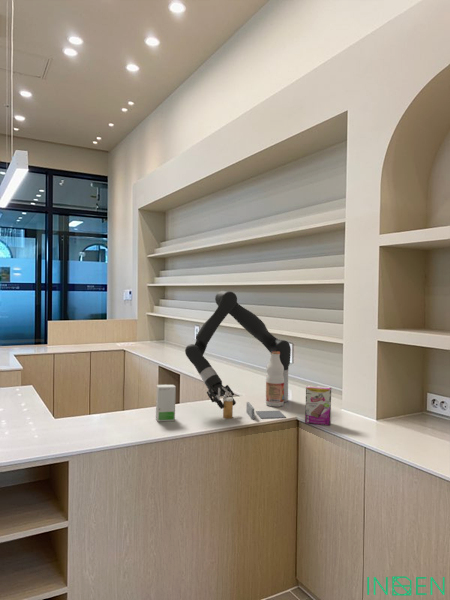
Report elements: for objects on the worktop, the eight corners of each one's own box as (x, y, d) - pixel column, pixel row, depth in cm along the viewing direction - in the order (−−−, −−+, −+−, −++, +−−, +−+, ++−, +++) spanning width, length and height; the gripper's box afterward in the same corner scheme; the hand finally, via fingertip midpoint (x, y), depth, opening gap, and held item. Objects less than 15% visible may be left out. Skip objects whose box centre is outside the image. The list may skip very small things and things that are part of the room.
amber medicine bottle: (222, 416, 211) (222, 397, 211) (232, 415, 212) (232, 396, 211) (223, 418, 206) (223, 399, 206) (233, 418, 207) (233, 399, 207)
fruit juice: (262, 403, 236) (263, 350, 235) (277, 402, 240) (278, 350, 240) (271, 407, 227) (272, 353, 227) (287, 406, 231) (287, 352, 231)
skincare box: (157, 422, 199) (157, 387, 199) (155, 418, 206) (155, 384, 206) (175, 420, 202) (176, 386, 202) (173, 417, 208) (173, 383, 208)
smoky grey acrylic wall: (246, 412, 218) (246, 402, 218) (248, 412, 218) (248, 401, 218) (251, 419, 205) (251, 408, 205) (254, 419, 206) (254, 408, 205)
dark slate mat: (255, 411, 219) (255, 411, 219) (279, 411, 221) (279, 410, 221) (261, 418, 207) (261, 417, 207) (286, 417, 209) (286, 417, 209)
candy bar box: (304, 423, 200) (305, 387, 199) (305, 420, 204) (306, 385, 204) (330, 426, 197) (331, 388, 196) (331, 422, 201) (331, 386, 201)
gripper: (205, 375, 209) (223, 404, 201) (224, 372, 219) (242, 398, 212) (196, 385, 212) (214, 413, 205) (216, 381, 223) (233, 408, 216)
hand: (228, 406), depth 208 cm, fingers open, 8 cm apart
